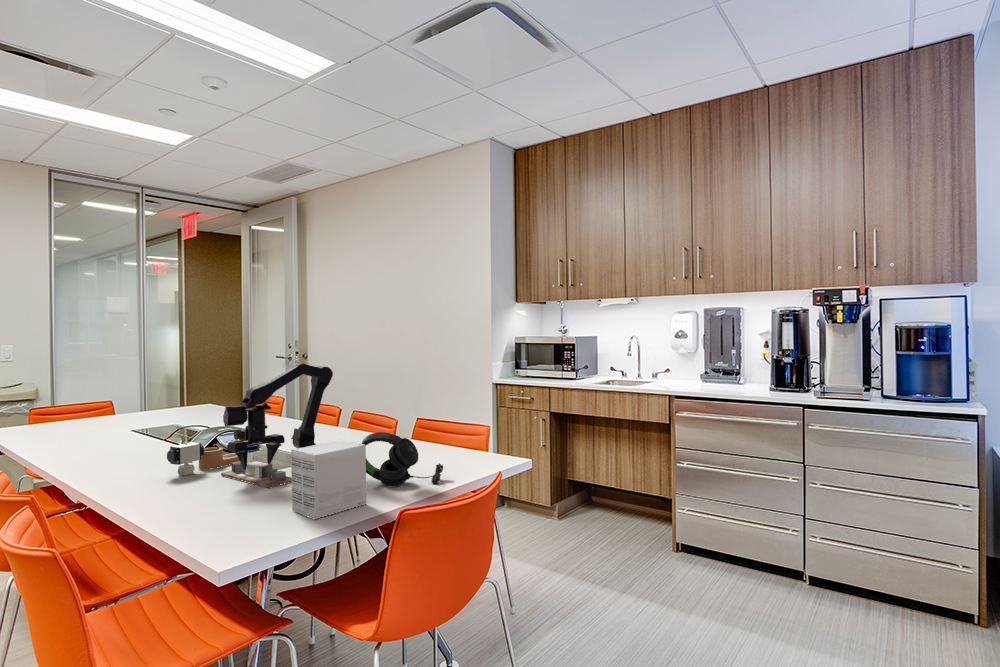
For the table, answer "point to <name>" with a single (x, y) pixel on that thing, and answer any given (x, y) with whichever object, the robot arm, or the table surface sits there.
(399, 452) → the headset
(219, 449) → the bracket
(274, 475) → the stand
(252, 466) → the steel coupler
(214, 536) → the table surface
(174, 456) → the pneumatic valve
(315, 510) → the supplement box
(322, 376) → the robot arm
